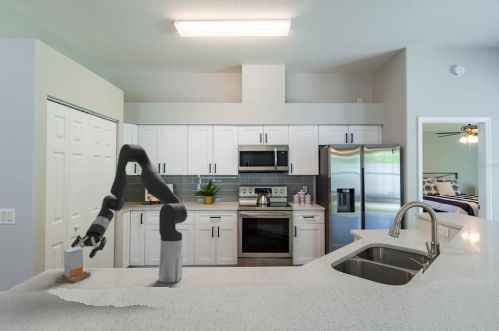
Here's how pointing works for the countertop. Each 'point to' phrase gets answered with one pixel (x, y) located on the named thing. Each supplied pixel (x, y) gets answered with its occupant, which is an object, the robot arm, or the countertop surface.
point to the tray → (72, 278)
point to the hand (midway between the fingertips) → (81, 257)
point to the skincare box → (73, 262)
